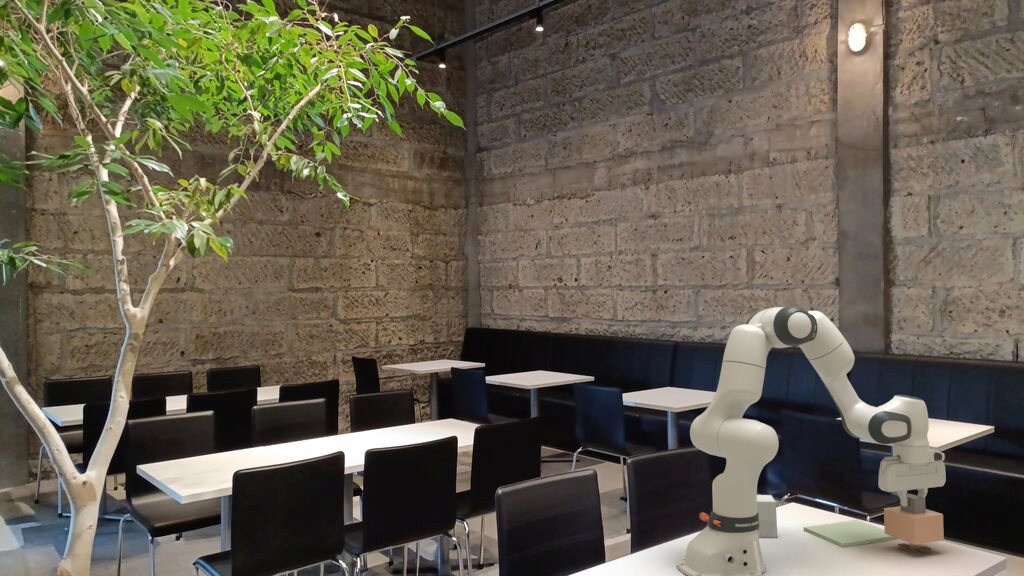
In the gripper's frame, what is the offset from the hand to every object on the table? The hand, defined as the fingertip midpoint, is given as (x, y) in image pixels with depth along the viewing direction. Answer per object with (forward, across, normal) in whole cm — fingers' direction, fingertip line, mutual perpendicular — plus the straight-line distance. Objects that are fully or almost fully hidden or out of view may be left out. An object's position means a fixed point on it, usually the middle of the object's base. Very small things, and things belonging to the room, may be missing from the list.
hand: (912, 505), depth 197 cm
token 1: (+13, -1, +2) cm, 13 cm away
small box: (+13, -28, +27) cm, 41 cm away
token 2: (+12, +2, -2) cm, 13 cm away
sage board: (+12, -6, +17) cm, 22 cm away
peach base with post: (+9, 0, 0) cm, 9 cm away
